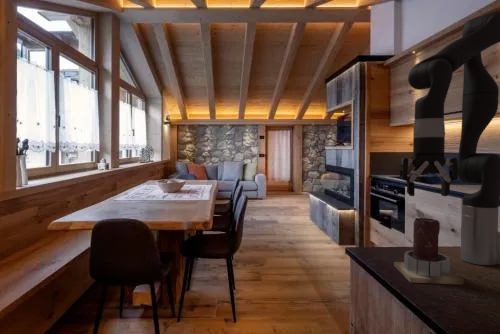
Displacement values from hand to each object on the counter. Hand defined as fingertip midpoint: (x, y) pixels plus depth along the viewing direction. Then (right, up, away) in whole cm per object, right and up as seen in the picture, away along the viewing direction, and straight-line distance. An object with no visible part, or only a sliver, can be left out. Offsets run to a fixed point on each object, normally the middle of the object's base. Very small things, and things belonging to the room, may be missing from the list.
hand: (427, 195), depth 93 cm
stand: (0, -22, +1) cm, 22 cm away
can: (0, -21, +1) cm, 21 cm away
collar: (0, -21, +1) cm, 21 cm away
